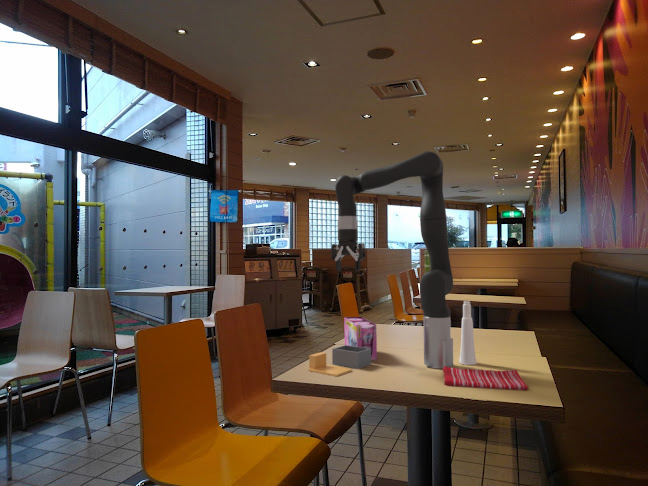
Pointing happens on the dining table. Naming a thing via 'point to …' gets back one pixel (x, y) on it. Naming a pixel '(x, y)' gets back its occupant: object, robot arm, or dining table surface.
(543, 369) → the dining table surface
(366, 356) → the tub
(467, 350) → the cosmetic bottle
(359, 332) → the gum box
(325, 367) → the lid
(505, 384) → the dish towel
